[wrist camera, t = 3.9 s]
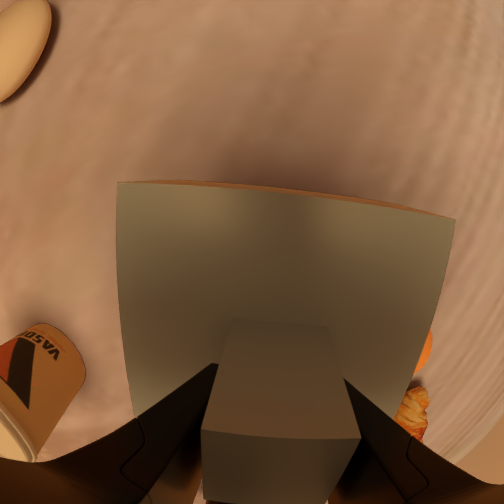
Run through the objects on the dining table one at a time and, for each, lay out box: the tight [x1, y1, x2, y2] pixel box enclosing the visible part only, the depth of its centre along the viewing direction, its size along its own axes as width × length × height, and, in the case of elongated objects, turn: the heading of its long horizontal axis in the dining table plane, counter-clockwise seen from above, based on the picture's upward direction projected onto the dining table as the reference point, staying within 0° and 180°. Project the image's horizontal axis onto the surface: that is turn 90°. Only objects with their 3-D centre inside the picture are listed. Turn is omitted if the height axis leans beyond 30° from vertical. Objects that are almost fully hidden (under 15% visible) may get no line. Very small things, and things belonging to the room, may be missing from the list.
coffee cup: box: [0, 324, 85, 462], centre depth 18 cm, size 9×9×12 cm
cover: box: [116, 180, 456, 504], centre depth 10 cm, size 10×10×10 cm
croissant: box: [393, 386, 430, 443], centre depth 22 cm, size 21×10×8 cm, turn 173°
